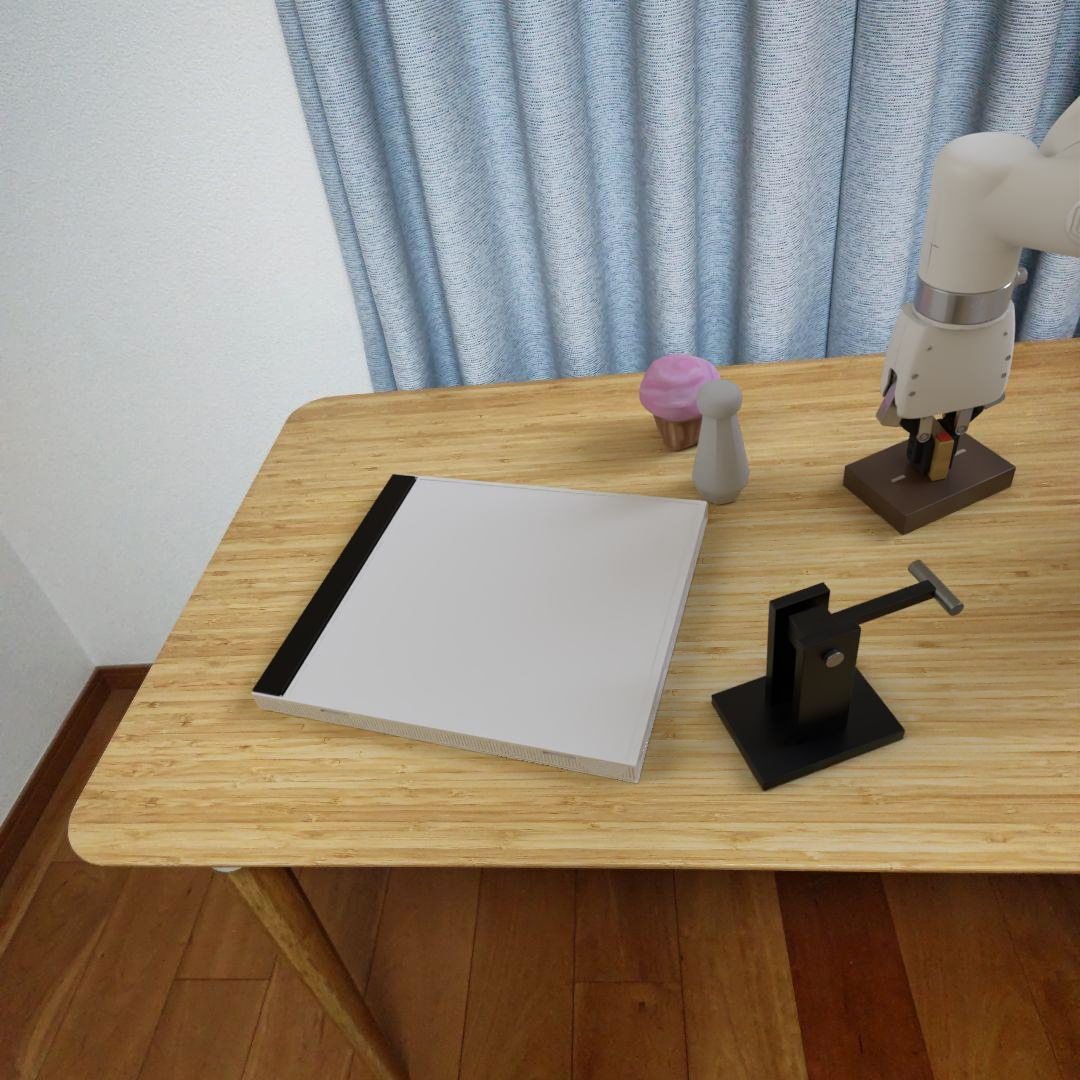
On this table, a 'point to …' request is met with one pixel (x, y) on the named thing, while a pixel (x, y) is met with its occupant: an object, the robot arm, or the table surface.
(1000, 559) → the table surface
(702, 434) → the salt shaker
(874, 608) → the door handle
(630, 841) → the table surface
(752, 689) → the handle bracket
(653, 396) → the cupcake
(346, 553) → the cd case
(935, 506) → the plate
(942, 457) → the thumb turn
